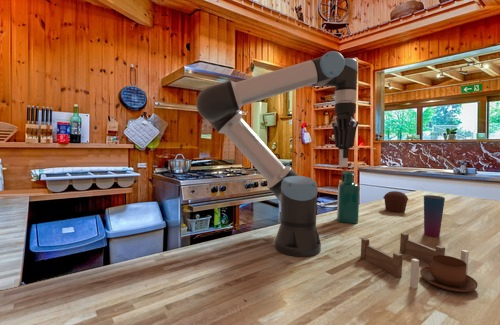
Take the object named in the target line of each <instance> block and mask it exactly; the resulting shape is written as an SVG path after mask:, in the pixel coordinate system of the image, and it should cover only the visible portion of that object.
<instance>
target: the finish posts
mask: <svg viewBox="0 0 500 325" xmlns="http://www.w3.org/2000/svg"><path fill="white" fill-rule="evenodd" d="M469 256H470V251H469V250H466V249H461V250H460V260H462V261H464V262H465V263H466V264H467V269H466V275H468V268H469ZM410 261H411V262H410V277H409V287H410V288H412V290H415V289H418V286H419V273H420V259H418V258H411V260H410Z"/></svg>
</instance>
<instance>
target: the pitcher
mask: <svg viewBox="0 0 500 325" xmlns="http://www.w3.org/2000/svg"><path fill="white" fill-rule="evenodd" d="M354 176H356V173H355V172H354V171H353V170H352V171H350V170H341V182H339V184H337V185H338V186H337V187H338V188H337V207H336V208H337V209H336V210H337V212H336V218H337V221H338V222H339V223H342V224H358V223H359V214H360V213H359V212H360V210H359V209H360V189H361V188H360V186H359V185H358V183H356V182H354Z"/></svg>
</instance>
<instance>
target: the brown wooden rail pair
mask: <svg viewBox="0 0 500 325" xmlns="http://www.w3.org/2000/svg"><path fill="white" fill-rule="evenodd" d="M409 235H410V234H409V233H406V232H400V241H399V252H392V255H391V254H389V253H387V252H385V251H383V250H381V249H378V248H377V247H375V246H372V245H370V239H368V238H366V237H364V238H361V239H360V242H361V244H360V246H361V247H360V258H361V259H363V260H366V261H367V262H369V263H371V264H373V265H374V266H376V267H379V268H380V269H382V270H383V271H385V272H387V273H389V274H391V275H392V276H394V277H395V278H401V277H403V260H404V259H403V256H404V255H403V254H406V255H409V256H410V257H414V259H417V260H419V261H422V262H425V263H427V264H429V265H431V261H432V256H434V255H445V254H446V247H445V246H442V245H436V246H435V248H433V247H430V246H427V245H425V244H422V243H420V242H417V241H414V240H412V239H410V238H409ZM401 252H402V253H403V254H402V253H401ZM445 256H446V255H445Z"/></svg>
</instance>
